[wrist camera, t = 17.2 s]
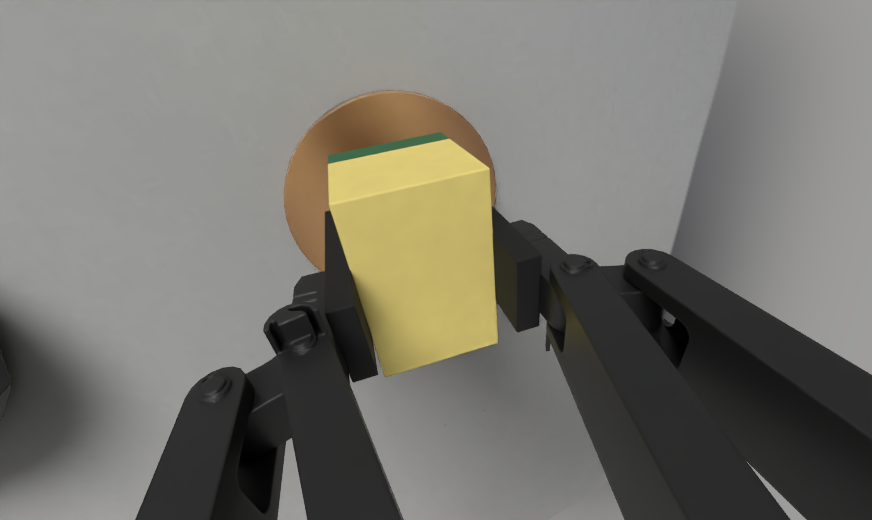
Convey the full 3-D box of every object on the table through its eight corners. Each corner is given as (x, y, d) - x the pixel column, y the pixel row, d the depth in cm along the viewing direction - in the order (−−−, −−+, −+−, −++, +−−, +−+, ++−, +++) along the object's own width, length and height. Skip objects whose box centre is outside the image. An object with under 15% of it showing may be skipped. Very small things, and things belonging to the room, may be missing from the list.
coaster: (408, 32, 14) (410, 31, 13) (524, 205, 19) (529, 209, 19) (233, 199, 15) (230, 205, 15) (388, 316, 21) (389, 323, 20)
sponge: (326, 154, 13) (328, 204, 9) (441, 131, 14) (490, 167, 10) (370, 297, 17) (385, 378, 13) (458, 274, 18) (498, 343, 14)
